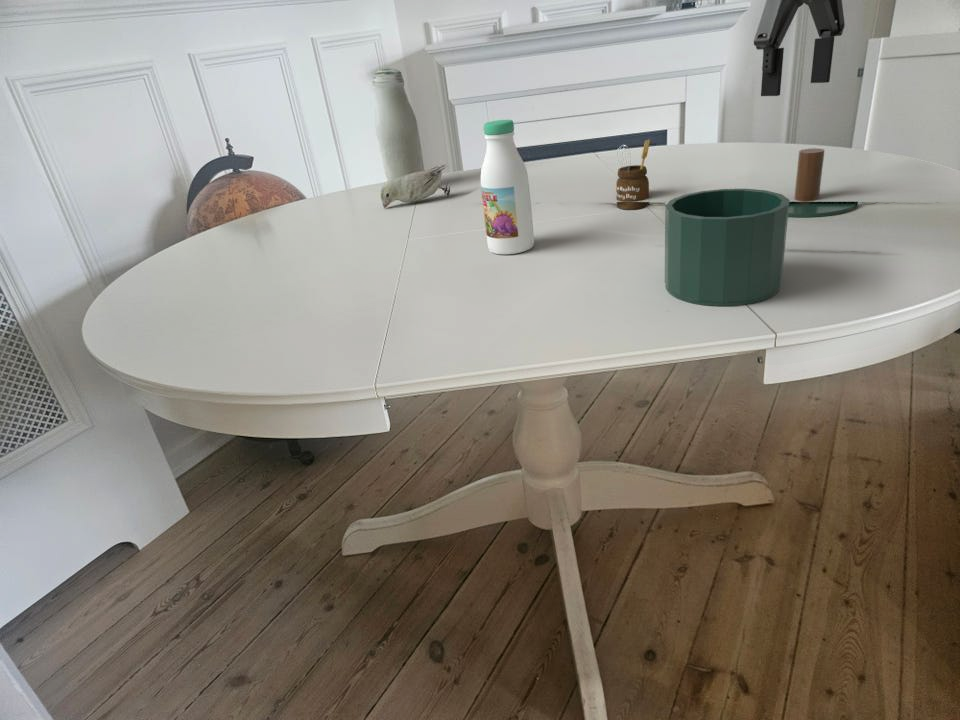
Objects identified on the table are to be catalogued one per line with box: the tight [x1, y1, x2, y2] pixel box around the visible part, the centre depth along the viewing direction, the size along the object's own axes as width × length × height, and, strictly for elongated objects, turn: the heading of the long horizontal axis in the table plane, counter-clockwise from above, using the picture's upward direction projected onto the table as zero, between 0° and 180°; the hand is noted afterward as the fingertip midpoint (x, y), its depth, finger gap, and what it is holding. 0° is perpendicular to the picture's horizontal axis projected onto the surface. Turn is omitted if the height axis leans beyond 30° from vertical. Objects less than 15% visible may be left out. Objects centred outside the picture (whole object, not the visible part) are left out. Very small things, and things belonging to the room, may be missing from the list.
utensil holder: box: [615, 138, 651, 211], centre depth 116 cm, size 6×6×12 cm
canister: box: [664, 188, 791, 307], centre depth 77 cm, size 14×14×10 cm
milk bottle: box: [480, 119, 535, 255], centre depth 100 cm, size 8×8×20 cm
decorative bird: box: [380, 162, 452, 209], centre depth 143 cm, size 5×16×7 cm, turn 105°
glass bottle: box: [372, 67, 425, 181], centre depth 153 cm, size 10×10×28 cm
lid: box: [788, 148, 859, 218], centre depth 102 cm, size 15×15×9 cm
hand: (795, 89), depth 99 cm, fingers open, 13 cm apart
